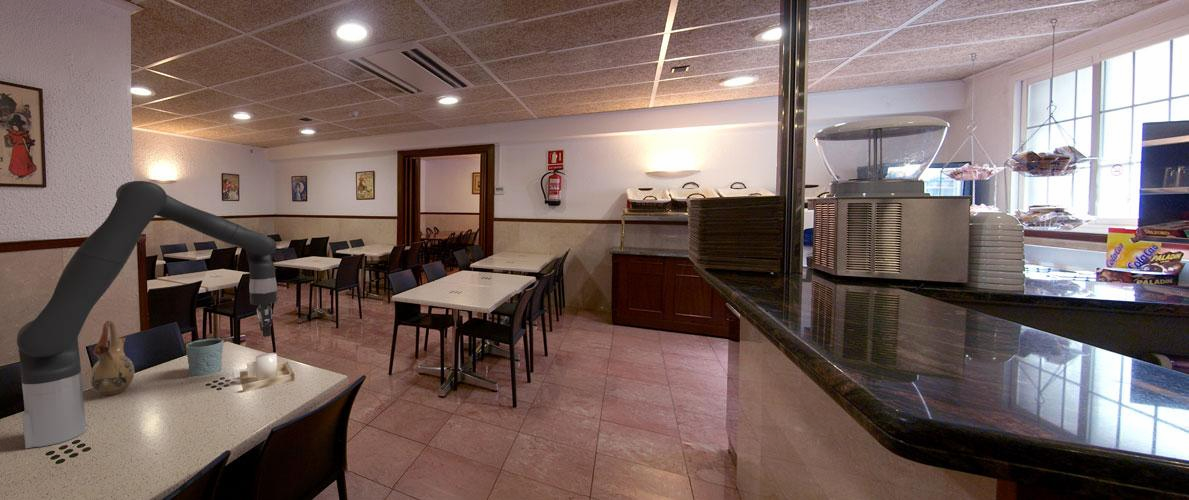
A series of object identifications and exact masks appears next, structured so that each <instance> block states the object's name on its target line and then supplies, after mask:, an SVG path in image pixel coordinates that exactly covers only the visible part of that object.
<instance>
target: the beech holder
mask: <svg viewBox="0 0 1189 500" xmlns="http://www.w3.org/2000/svg"><path fill="white" fill-rule="evenodd" d="M277 371H278V377H274V378H269V379H265V380H260V381H257V379H256V376H252V377H248V372H247V370H246V371H241V372H240V379H239V380H240V383H241V386H242V391H243V393H247V392H250V391H255V390H258V389H259V390H260V389H264V388H268V387H273V386H276V385H277V386H278V385H280V384H285V383H291V382H295V373H294V371H293V369H292V367H291V366H290V364H289V362H286V361H285V362H281V363H277Z"/></svg>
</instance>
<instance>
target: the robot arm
mask: <svg viewBox="0 0 1189 500" xmlns="http://www.w3.org/2000/svg"><path fill="white" fill-rule="evenodd" d="M115 198H116V202H115V203H114V205H113V207H112V209H111V211H110V212H109V215H108V216H107V218H106V219H105V220H104V222H102V224H101V225H100V226H98V227H97V229H95V230H94V231H93V232H92V233H91V234H90V235H89V236H88V237H87V238H86V239H85V240H84V241H83V242H82V243H81V245H80V246H79V247H78V248H77V249H76V250H75V252H74V254H73V255H72V256H71V258H70V260H69V261H68V263H67V264H66V265H65V267H64V269H63V271H62V272H61V275H60V276H59V278H58V282H57V283H56V285H55V288H54V291H53V293H52V296H51V298H50V300H49V301H48V303H47V304H45V307H44V308H43V309H42V311H40V313H39V314H38V315H37V317H36V318H34V320H31V321H29V322H27V323H26V324H24V325H23V326H22V327H21V328H20V329H19V330H18V333H17V337H16V345H17V348H18V355H19V368H20V377H21V388H22V395H23V406H24V411H23V413H22V414H21V417H22V419H21V420H22V427H23V437H24V446H25V449H29V448H30V449H31V448H38V447H39V448H42V447H46V446H51V445H52V446H53V445H56V444H60V443H63V442H66V441H69V440H72V439H75V438H77V437H80V436H81V435H82V434H84V433H85V432H86V431H87V421H86V420H87V419H86V412H85V411H86V410H85V399H84V390H83V389H84V388H83V377H82V366H81V358H80V348H79V335H80V333H81V332H82V329H83V327H84V324H85V322H86V320H87V318H88V316H89V315H90V313H91V311H92V309H93V308H94V306H95V305H96V304H97V303H98V301H99V300H100V299H101V298H102V296H103V295H104V294H105V293H106V292H107V291H108V289H109V288H110V287H111V285H112V284H113V283H114V282H115V280H116V278H117V277H118V276H119V274H120V272H121V271H122V270H123V268H124V266H125V265H126V264H127V262H128V260H129V258H130V257H131V255H132V253H133V252H134V249H135V248H136V245H137V244H138V242H139V240H140V237H141V236H142V234H143V232H144V231H145V229H146V228H147V227H148V225H149V224H150V222H152V220H154V218H155V217H156V216H157V217H160V218H163V219H166V220H169V221H172V222H175V223H178V224H180V225H183V226H185V227H188V228H189V229H192V230H194V231H197V232H199V233H201V234H204V235H205V236H208V237H210V238H212V239H216V240H217V241H220V242H224V243H225V244H230V245H233V246H237V247H239V248H242V249H243V250H245V253H246V258H247V261H248V264H249V285H248V286H249V288H248V289H249V304H250V305H253V306H257V308H256V314H257V318H258V321H259V330H260V332H262V337H263V338H266V337H271V336H272V326H273V322H272V320H273V307H272V306H270V305H271V304H275V303H277V302H278V288H277V284H278V283H277V279H276V267H275V263H274V262H273V260H272V254H274V253H275V252H276V250H277V247H278V245H277V243H276V241H275V240H274V239H273V238H272V237H269V236H267V235H265V234H262V233H259V232H258V231H257V232H256V231H254V230H251V229H248V228H246V227H244V226H242V225H240V224H238V223H235V222H233V221H230V220H228V219H226V218H223V217H221V216H219V215H215V214H213V213H210V212H208V211H205V210H202V209H199V208H196V207H193V206H191V205H188V204H186V203H183V202H182V201H180V200H177V199H176V198H173V196H170V195H168V194H167V193H166V191H165V189H164V188H163V187H161V186H160V185H158V184H157V183H154V182H151V181H147V180H133V181H128V182H125V183H123V184H121V185H119V187H118V188H117V190H116V192H115Z"/></svg>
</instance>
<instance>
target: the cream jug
mask: <svg viewBox="0 0 1189 500" xmlns="http://www.w3.org/2000/svg"><path fill="white" fill-rule="evenodd" d="M277 364H278V353H276V352H269V353H268V352H267V353H263V354H259V355H257V356H256V357H255V361H251V362H247V363H246V368H247V372H248V377H252V376H256V379H257V381H260V380H265V379H269V378H274V377H278V371H277Z"/></svg>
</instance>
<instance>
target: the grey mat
mask: <svg viewBox="0 0 1189 500" xmlns="http://www.w3.org/2000/svg"><path fill="white" fill-rule="evenodd" d="M246 370H247V367H245V368H242V369H236V370H232V375H233V379H234V381H236V380H240V372H241V371H246Z"/></svg>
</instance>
